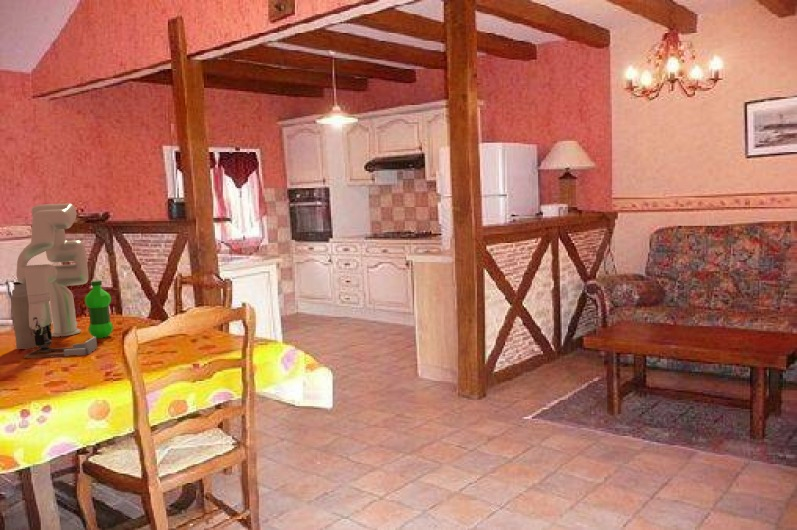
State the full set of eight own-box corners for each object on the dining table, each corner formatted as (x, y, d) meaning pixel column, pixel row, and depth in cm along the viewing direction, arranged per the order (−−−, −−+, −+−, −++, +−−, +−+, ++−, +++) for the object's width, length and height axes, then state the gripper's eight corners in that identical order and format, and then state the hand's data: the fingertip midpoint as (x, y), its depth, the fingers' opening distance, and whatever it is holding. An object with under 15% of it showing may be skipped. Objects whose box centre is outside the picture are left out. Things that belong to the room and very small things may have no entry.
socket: (74, 350, 266) (73, 338, 266) (97, 348, 267) (96, 336, 266) (64, 356, 256) (63, 343, 256) (88, 354, 257) (86, 342, 257)
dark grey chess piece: (40, 348, 263) (37, 319, 262) (55, 347, 264) (52, 318, 262) (33, 352, 257) (30, 322, 256) (49, 351, 258) (45, 321, 256)
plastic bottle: (98, 334, 295) (92, 279, 292) (119, 334, 293) (113, 279, 290) (83, 339, 285) (77, 283, 282) (105, 339, 283) (99, 282, 280)
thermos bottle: (42, 345, 278) (35, 280, 275) (28, 349, 270) (21, 282, 267) (26, 345, 280) (19, 280, 276) (12, 349, 272) (4, 283, 269)
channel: (35, 352, 265) (35, 349, 265) (74, 350, 266) (74, 347, 266) (24, 358, 255) (23, 355, 255) (64, 356, 256) (64, 353, 256)
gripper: (38, 295, 266) (43, 338, 268) (18, 302, 249) (23, 349, 251) (58, 294, 267) (62, 337, 269) (39, 301, 250) (44, 347, 252)
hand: (43, 342), depth 260 cm, fingers closed on dark grey chess piece, 5 cm apart
